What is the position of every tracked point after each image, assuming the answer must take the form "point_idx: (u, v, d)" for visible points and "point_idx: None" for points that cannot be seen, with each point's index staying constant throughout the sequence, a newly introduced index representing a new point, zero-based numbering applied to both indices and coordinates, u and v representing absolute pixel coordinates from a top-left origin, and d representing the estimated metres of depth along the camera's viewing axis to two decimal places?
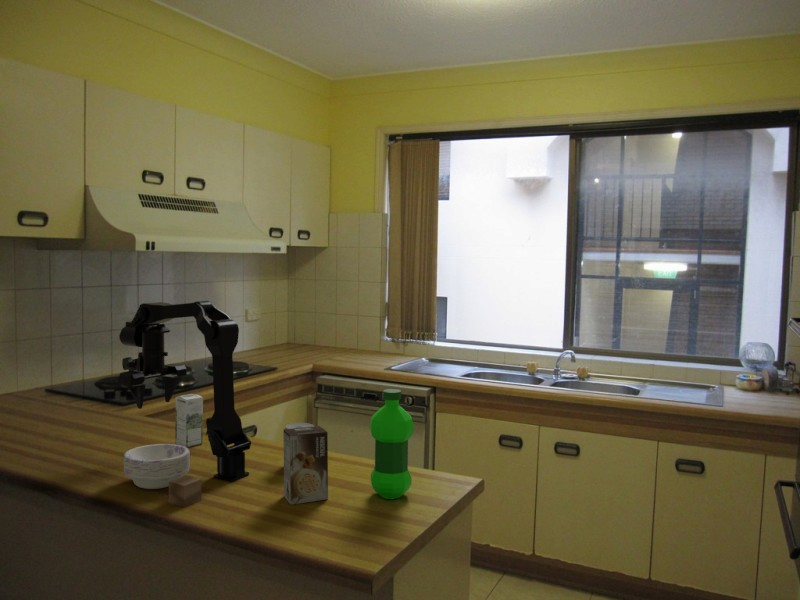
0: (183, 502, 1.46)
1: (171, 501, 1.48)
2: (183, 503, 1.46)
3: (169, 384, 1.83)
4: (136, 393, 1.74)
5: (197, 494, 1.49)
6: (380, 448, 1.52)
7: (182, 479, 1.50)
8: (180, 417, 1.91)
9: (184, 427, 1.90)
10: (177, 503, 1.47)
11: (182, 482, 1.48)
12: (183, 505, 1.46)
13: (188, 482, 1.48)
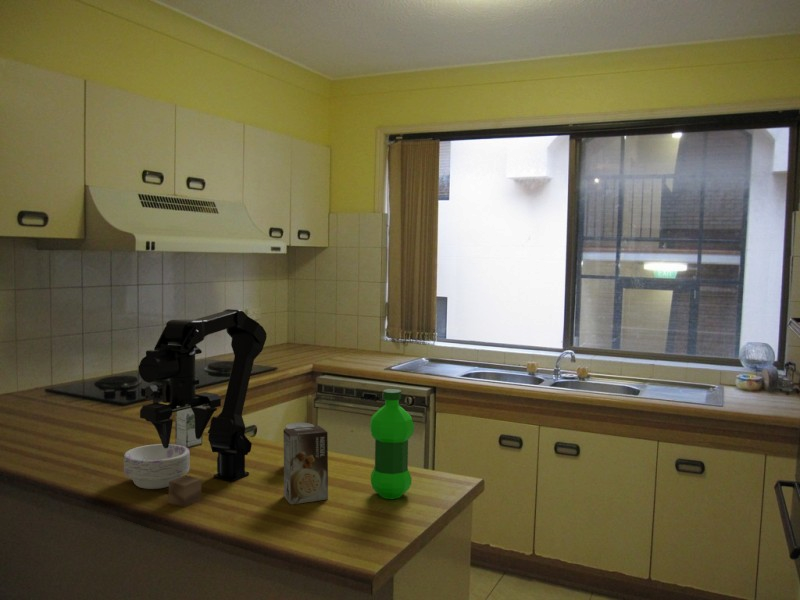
0: (183, 502, 1.46)
1: (171, 501, 1.48)
2: (183, 503, 1.46)
3: (200, 417, 1.53)
4: (162, 430, 1.44)
5: (197, 494, 1.49)
6: (380, 448, 1.52)
7: (182, 479, 1.50)
8: (180, 417, 1.91)
9: (184, 427, 1.90)
10: (177, 503, 1.47)
11: (182, 482, 1.48)
12: (183, 505, 1.46)
13: (188, 482, 1.48)
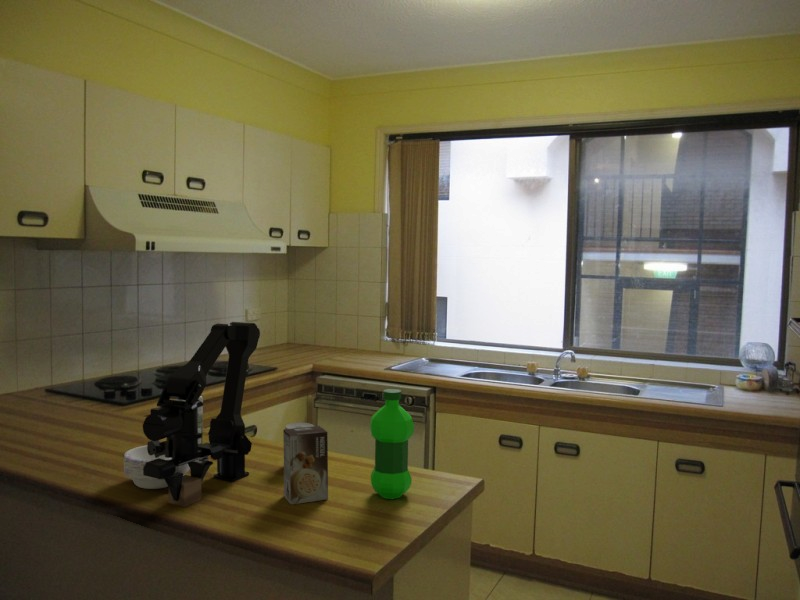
0: (183, 502, 1.46)
1: (171, 501, 1.48)
2: (183, 503, 1.46)
3: (196, 472, 1.52)
4: (172, 483, 1.46)
5: (197, 494, 1.49)
6: (380, 448, 1.52)
7: None
8: None
9: None
10: (177, 503, 1.47)
11: (182, 482, 1.48)
12: (183, 505, 1.46)
13: (188, 482, 1.48)
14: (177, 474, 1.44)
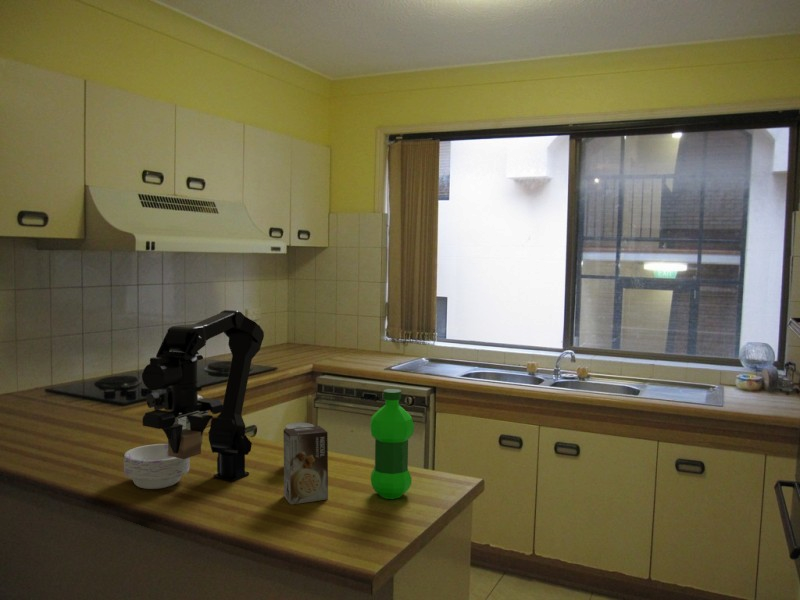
0: (183, 454, 1.46)
1: (170, 454, 1.48)
2: (182, 455, 1.46)
3: (196, 425, 1.51)
4: (171, 435, 1.45)
5: (197, 447, 1.49)
6: (380, 448, 1.52)
7: None
8: None
9: (184, 427, 1.90)
10: (177, 455, 1.47)
11: (181, 434, 1.47)
12: (183, 457, 1.46)
13: (188, 434, 1.47)
14: (177, 425, 1.43)
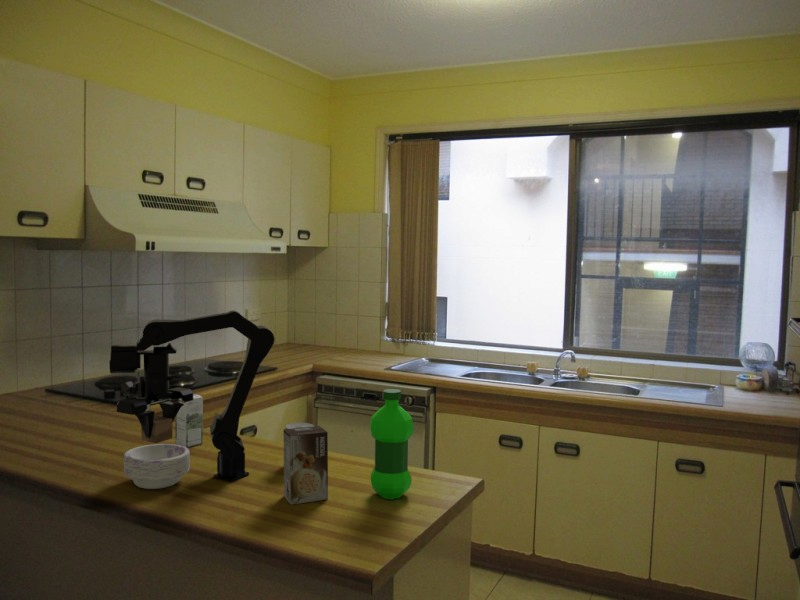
0: (155, 438, 1.57)
1: (143, 438, 1.59)
2: (154, 439, 1.57)
3: (168, 412, 1.62)
4: (144, 421, 1.57)
5: (168, 432, 1.60)
6: (380, 448, 1.52)
7: (154, 418, 1.61)
8: (180, 417, 1.91)
9: (184, 427, 1.90)
10: (149, 440, 1.58)
11: (153, 420, 1.59)
12: (155, 441, 1.57)
13: (159, 420, 1.59)
14: (149, 412, 1.55)
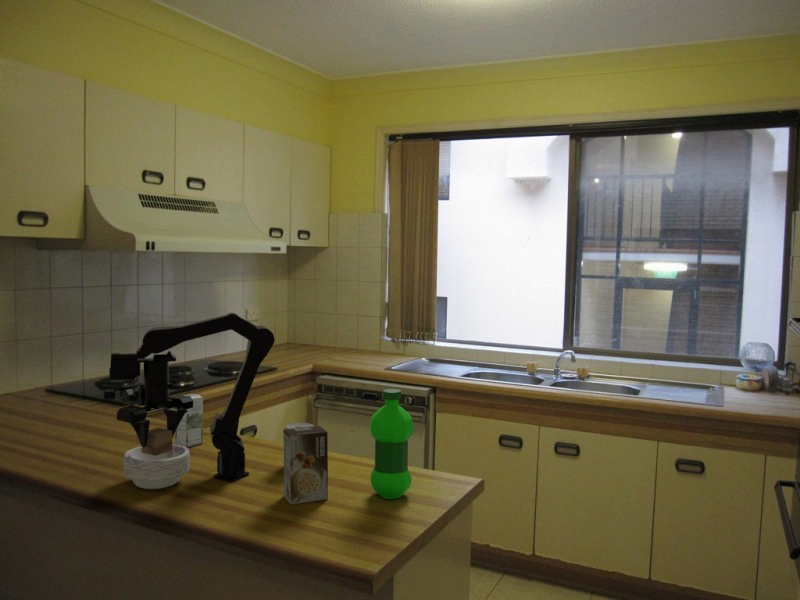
0: (154, 451, 1.57)
1: (143, 451, 1.59)
2: (154, 452, 1.57)
3: (172, 419, 1.64)
4: (139, 430, 1.56)
5: (168, 444, 1.61)
6: (380, 448, 1.52)
7: (154, 430, 1.61)
8: None
9: (184, 427, 1.90)
10: (149, 452, 1.58)
11: (153, 432, 1.59)
12: (154, 453, 1.57)
13: (159, 432, 1.59)
14: (144, 421, 1.54)
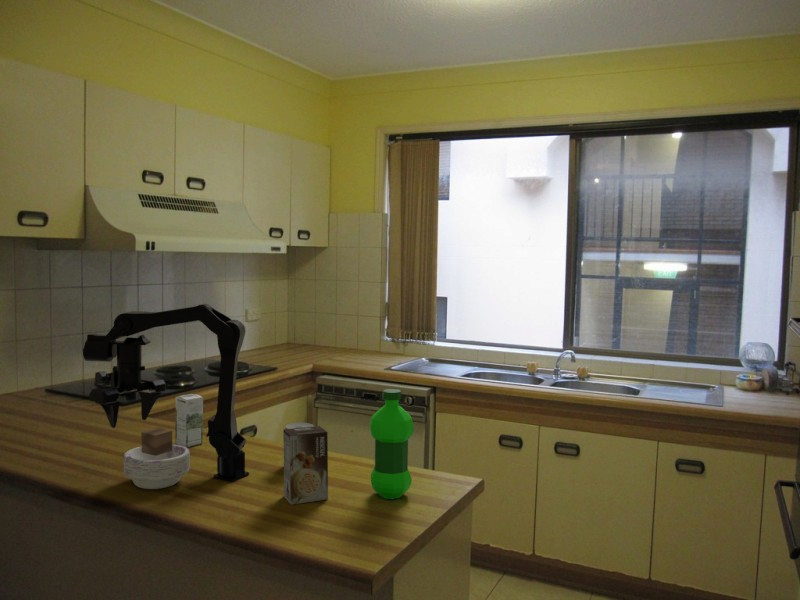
0: (154, 451, 1.57)
1: (143, 451, 1.59)
2: (154, 452, 1.57)
3: (146, 400, 1.69)
4: (109, 411, 1.59)
5: (168, 444, 1.61)
6: (380, 448, 1.52)
7: (154, 430, 1.61)
8: (180, 417, 1.91)
9: (184, 427, 1.90)
10: (149, 452, 1.58)
11: (153, 433, 1.59)
12: (154, 453, 1.57)
13: (159, 433, 1.59)
14: (114, 402, 1.58)
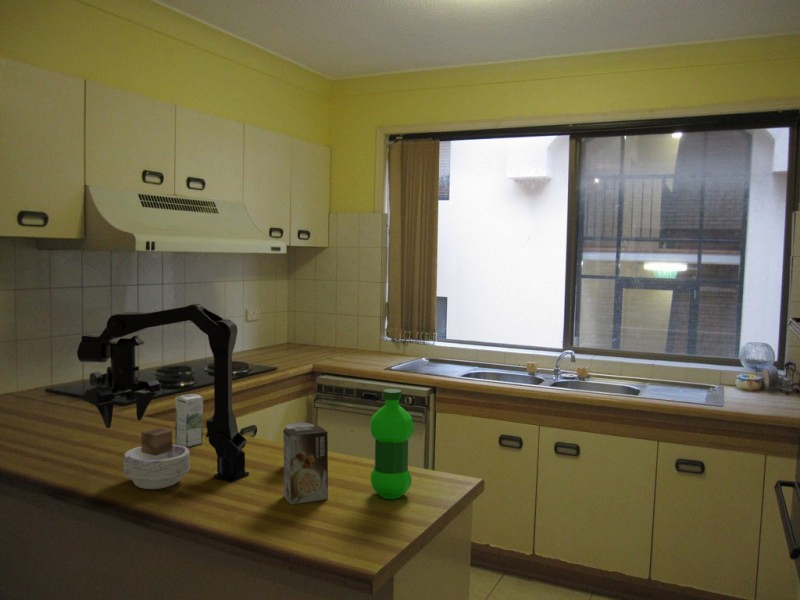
0: (154, 451, 1.57)
1: (143, 451, 1.59)
2: (154, 452, 1.57)
3: (141, 401, 1.70)
4: (104, 411, 1.61)
5: (168, 444, 1.61)
6: (380, 448, 1.52)
7: (154, 430, 1.61)
8: (180, 417, 1.91)
9: (184, 427, 1.90)
10: (149, 452, 1.58)
11: (153, 433, 1.59)
12: (154, 453, 1.57)
13: (159, 433, 1.59)
14: (108, 402, 1.59)
